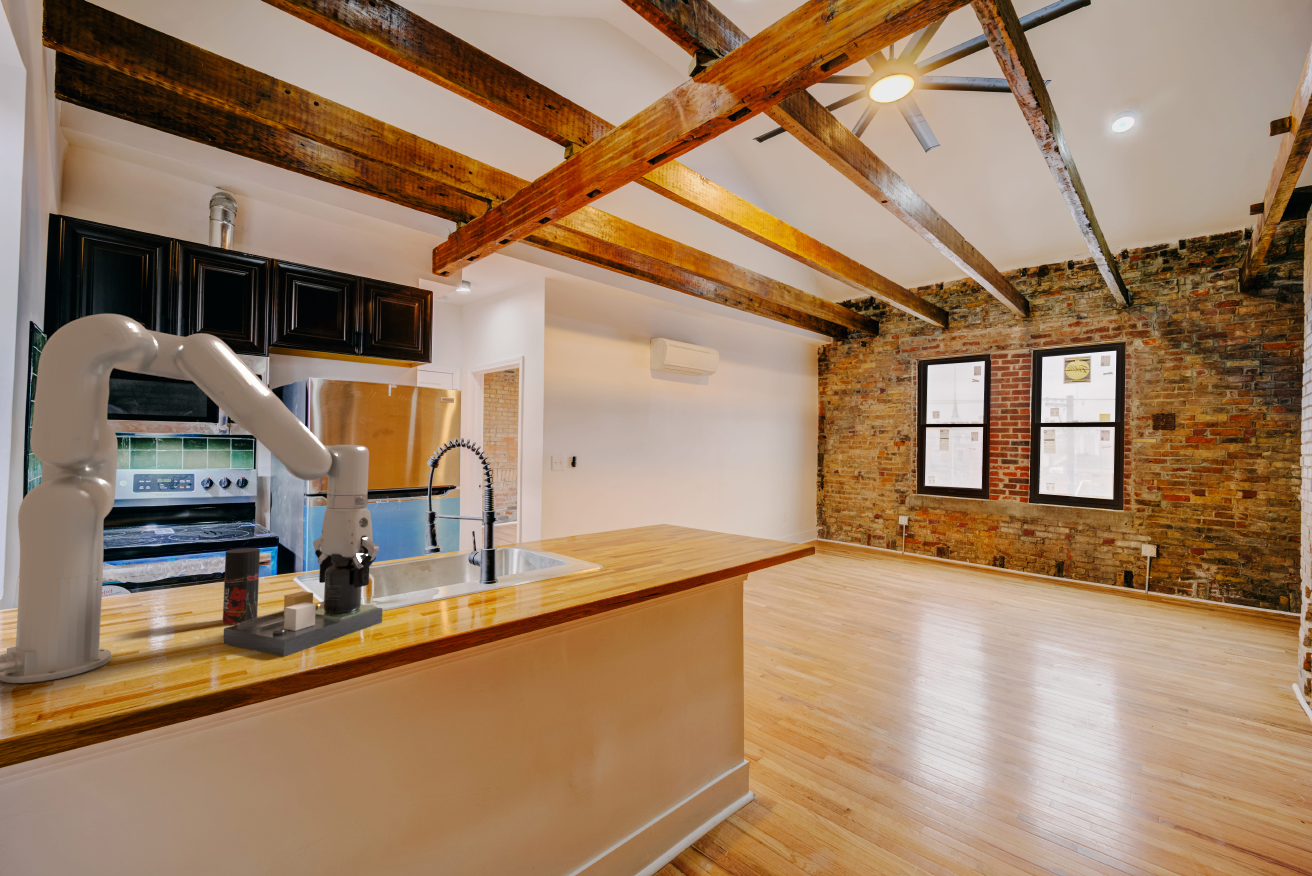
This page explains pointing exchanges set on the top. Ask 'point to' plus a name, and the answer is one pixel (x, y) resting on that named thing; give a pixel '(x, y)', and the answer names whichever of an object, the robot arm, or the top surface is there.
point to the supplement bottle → (341, 586)
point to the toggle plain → (299, 616)
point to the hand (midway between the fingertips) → (343, 583)
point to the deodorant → (241, 585)
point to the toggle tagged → (297, 599)
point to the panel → (282, 642)
